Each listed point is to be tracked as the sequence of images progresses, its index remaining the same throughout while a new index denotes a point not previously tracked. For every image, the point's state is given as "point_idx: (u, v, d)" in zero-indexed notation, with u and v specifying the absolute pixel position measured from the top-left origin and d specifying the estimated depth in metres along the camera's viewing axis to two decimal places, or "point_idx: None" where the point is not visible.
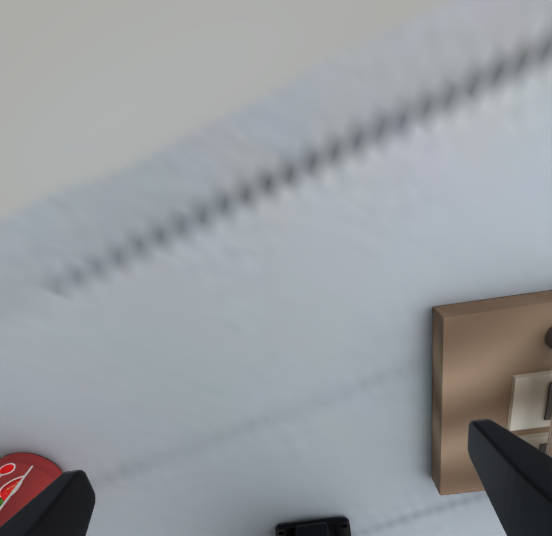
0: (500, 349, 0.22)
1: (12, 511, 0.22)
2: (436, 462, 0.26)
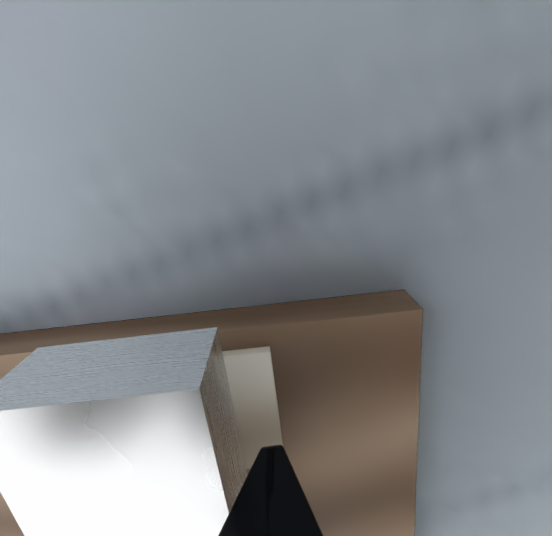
0: None
1: None
2: None
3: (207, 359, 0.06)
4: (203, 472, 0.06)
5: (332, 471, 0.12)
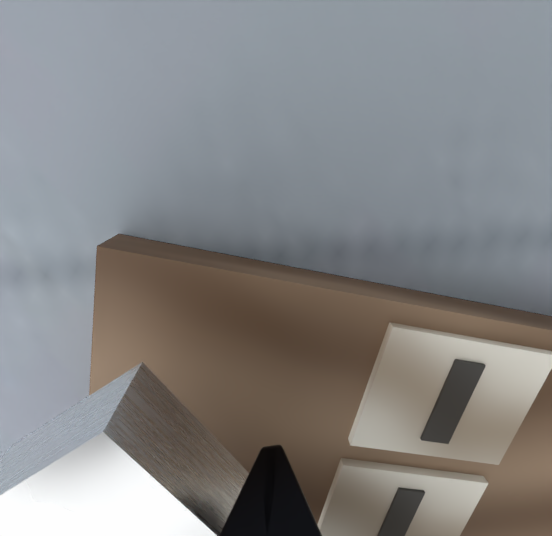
0: None
1: None
2: None
3: (121, 398, 0.06)
4: (160, 501, 0.06)
5: (522, 480, 0.13)
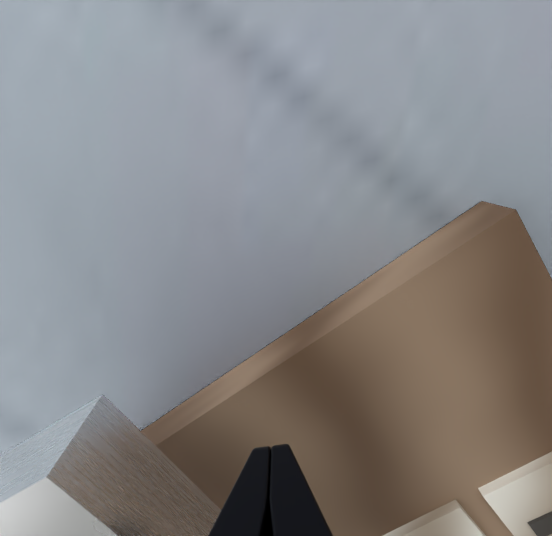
0: None
1: None
2: None
3: (73, 437, 0.06)
4: None
5: None
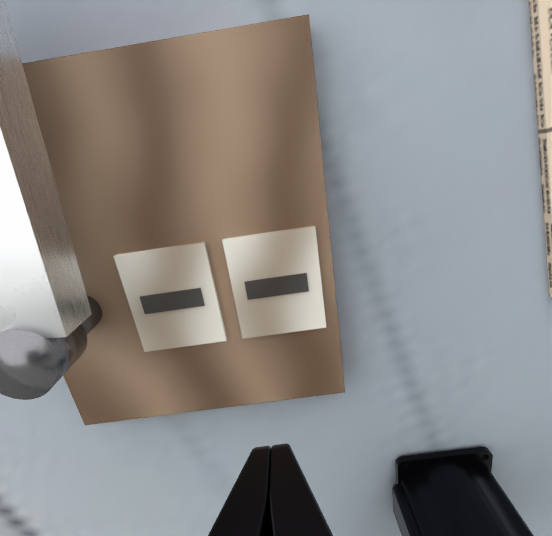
0: (113, 368, 0.19)
1: None
2: None
3: None
4: None
5: (232, 362, 0.19)
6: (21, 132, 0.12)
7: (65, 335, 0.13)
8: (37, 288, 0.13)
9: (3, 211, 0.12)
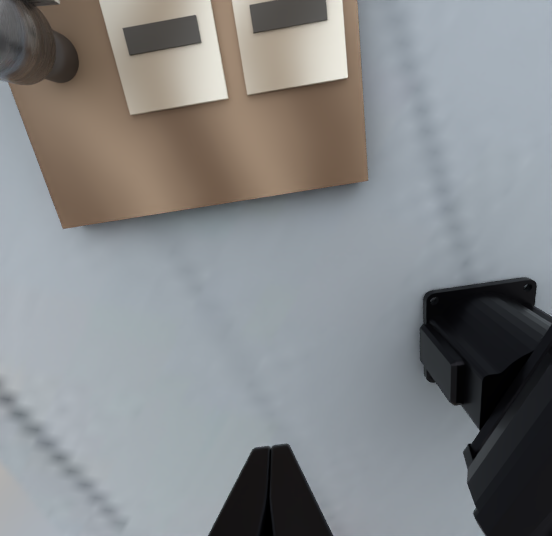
0: (94, 144, 0.16)
1: None
2: None
3: None
4: None
5: (235, 136, 0.16)
6: None
7: None
8: None
9: None
